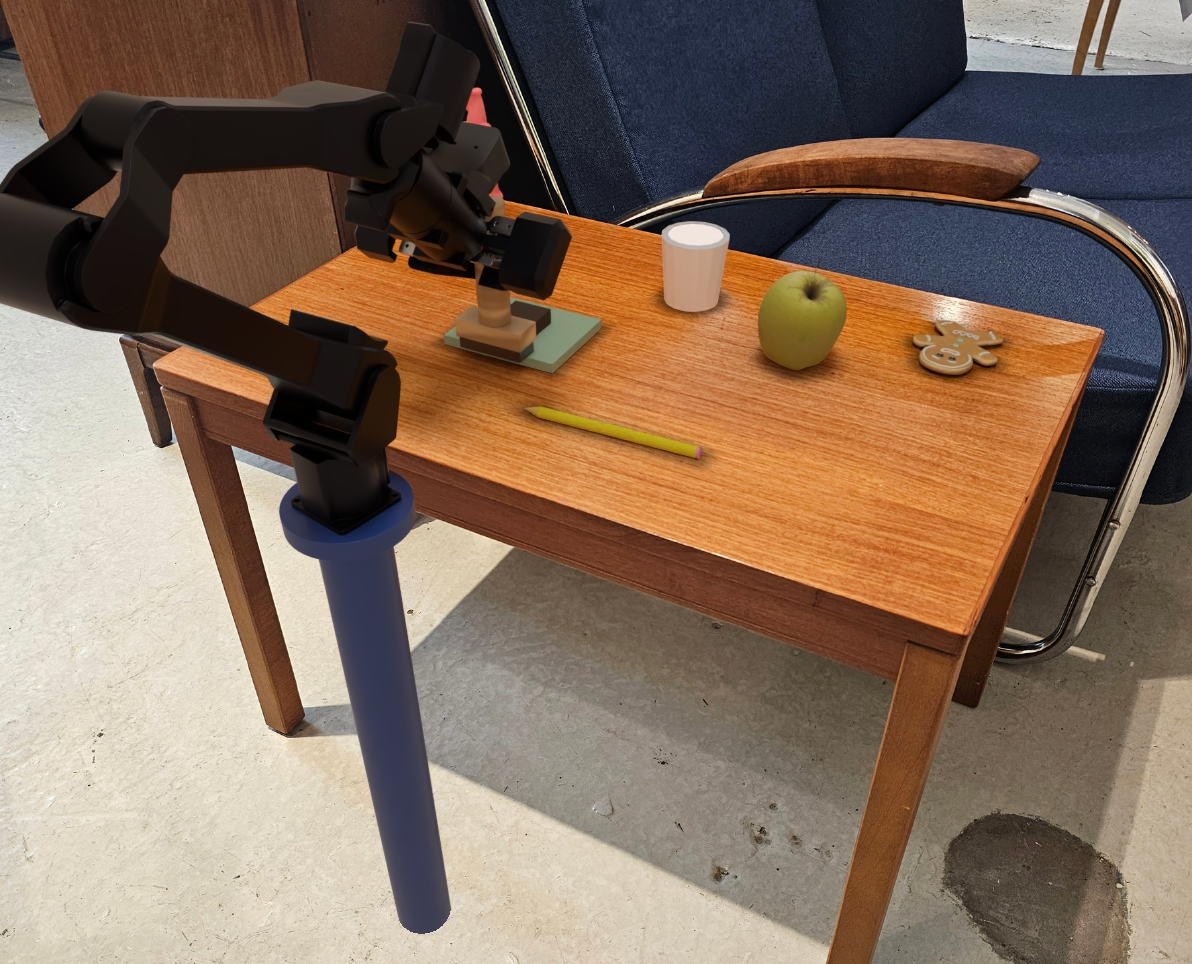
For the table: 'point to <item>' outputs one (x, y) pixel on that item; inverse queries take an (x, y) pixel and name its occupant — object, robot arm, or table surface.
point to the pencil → (617, 431)
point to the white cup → (693, 264)
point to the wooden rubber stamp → (495, 319)
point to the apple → (801, 319)
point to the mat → (550, 338)
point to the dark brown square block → (532, 314)
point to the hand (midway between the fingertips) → (500, 278)
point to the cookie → (956, 348)
